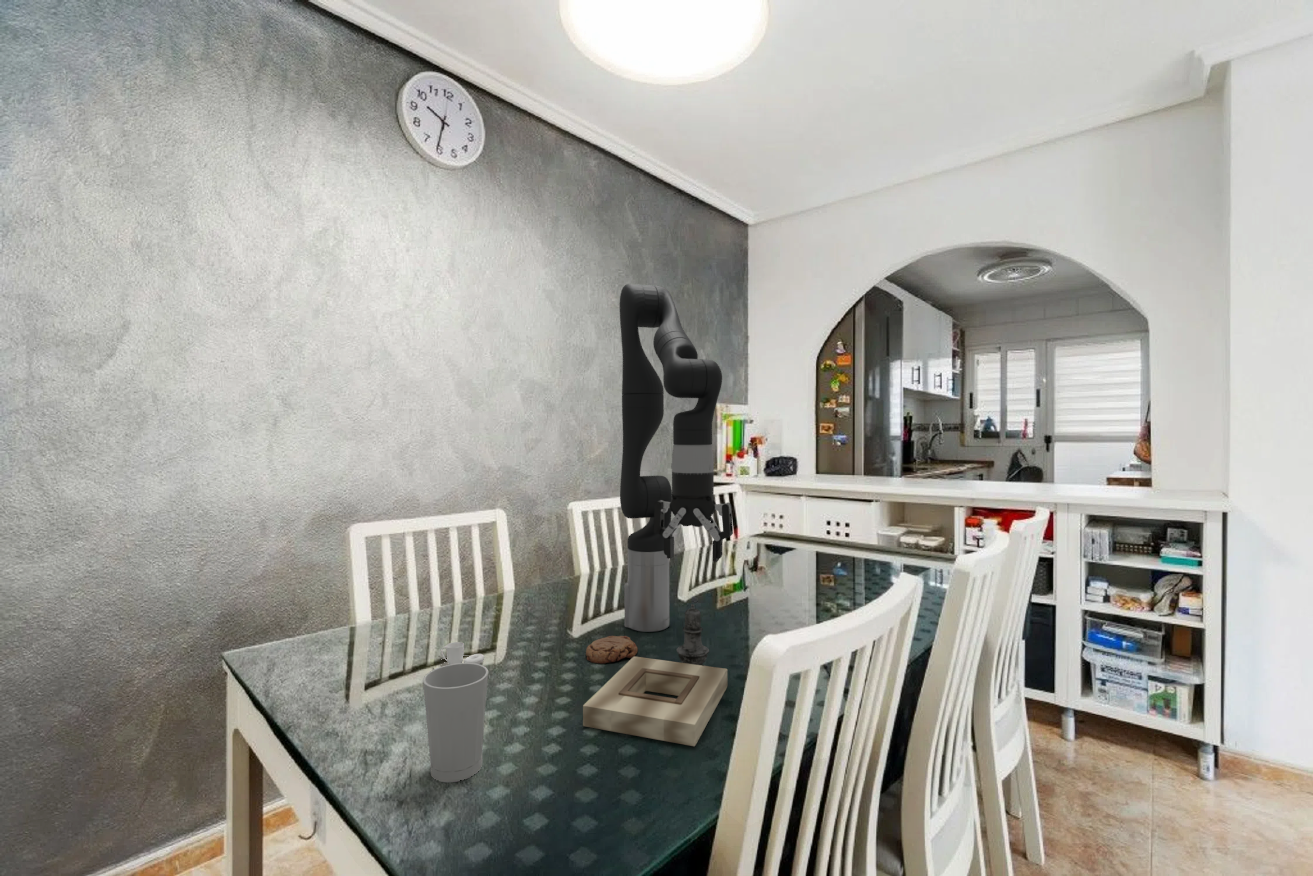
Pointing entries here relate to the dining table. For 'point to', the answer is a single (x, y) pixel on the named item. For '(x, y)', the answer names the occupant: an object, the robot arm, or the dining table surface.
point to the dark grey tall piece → (692, 639)
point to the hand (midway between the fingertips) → (692, 559)
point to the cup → (455, 719)
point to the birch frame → (657, 700)
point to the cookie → (611, 649)
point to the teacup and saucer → (460, 654)
